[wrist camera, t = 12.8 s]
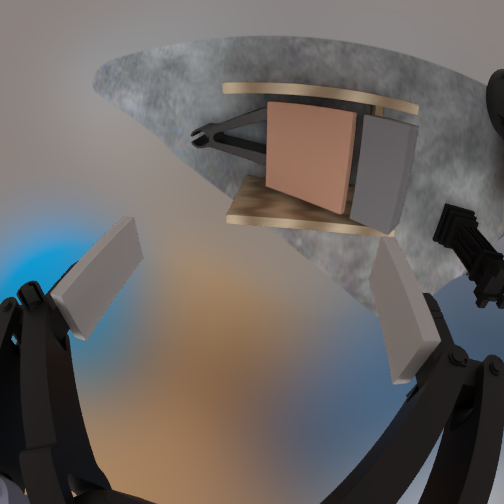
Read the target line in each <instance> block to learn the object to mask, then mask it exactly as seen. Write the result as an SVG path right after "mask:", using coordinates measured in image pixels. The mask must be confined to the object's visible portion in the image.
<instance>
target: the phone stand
mask: <svg viewBox="0 0 504 504" xmlns="http://www.w3.org/2000/svg"><path fill="white" fill-rule="evenodd" d="M263 120H267V106H266V107H263V108H260V109H258V110H255V111H252V112H249V113H246V114H243V115H241V116H238V117H235V118H233V119H230V120H228V121H225V122H222V123H218V124H214V123H210V124H207V125H205V126H203V127H200V128H198V129H196V130H194V131H193V132H192V134H191V136H194V135H196V134H198V133H200V132H202V131H204V132H207V134H209V135H208V137H209V138H210V139H209V138H207V137H206V136H205V135H202V136H201V137H199V138H197V139H195V140H194V141H192V142H191V143H192V144H193V145H194V146H195V147H197V148H205V147H211V148H215V149H218V150H222V151H225V152H228V153H231V154H234V155H237V156H240V157H242V158H245V159H248V160H251V161H254V162H257V163H259V164H262V165H265V166H266V156H267V145H263V144H260V143H256V142H252V141H248V140H244V139H240V138H235V137H231V136H227V135H225V134H224V133H223V131H225V130H228V129H232V128H236V127H239V126H243V125H247V124H251V123H255V122H259V121H263Z"/></svg>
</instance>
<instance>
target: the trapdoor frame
mask: <svg viewBox="0 0 504 504" xmlns="http://www.w3.org/2000/svg"><path fill="white" fill-rule="evenodd" d="M227 93H268V94H290V95H304V96H315V97H324V98H332V99H340V100H347V101H353V102H359V103H365V104H371V105H372V114H371V115H376V116H381V117H382V113H383V107H385V108H390V109H395V110H399V111H403V112H407V113H411V114H415V115H418V108H419V105H416V104H413V103H409V102H405V101H401V100H397V99H393V98H389V97H384V96H380V95H375V94H370V93H364V92H359V91H353V90H346V89H339V88H332V87H324V86H314V85H303V84H289V83H261V82H242V83H223V94H227ZM354 191H355V185H348V192H347V198H346V204H345V210H344V213H342V214H337V213H335V212H333V211H330V210H328V209H325V208H323V207H320V206H318V205H315V204H312V203H310V202H307V201H305V200H302V199H299V198H297V197H294V196H291V195H289V194H286V193H283V192H281V191H278V190H275V189H272V188H270V187H267V186H266V177H257V176H246V178H245V179H244V181H243V183H242V185H241V187H240V189H239V191H238V193H237V195H236V197H235V199H234V201H233V202H232V205H231V207H230V208H229V210H228V212H227V214H226V220H227V223H228V224H242V225H256V226H269V227H282V228H294V229H305V230H317V231H327V232H338V233H348V234H358V235H368V236H377V237H382V236H387V237H393V236H394V232H395V229H394V230H393V231H392V232H391V233H390V234H389V235H386V234H384V233H382V232H379V231H377V230H375V229H373V228H370V227H368V226H366V225H363V224H361V223H359V222H356V221H354V220H352V219H350V214H351V209H352V203H353V197H354Z"/></svg>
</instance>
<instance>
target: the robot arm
mask: <svg viewBox="0 0 504 504" xmlns="http://www.w3.org/2000/svg"><path fill="white" fill-rule="evenodd" d="M487 107H488V112H489V116H490V119H491V121H492V124H493V126H494V128H495V129H496V131H497V132H498V134H499V135H500V136H501V137H502V138H503V139H504V69H500V70H497V71H496V72H494V74H492V76H491V77H490V80H489V82H488V86H487ZM142 259H143V254H142V250H141V246H140V242H139V238H138V233H137V229H136V225H135V220H134V217H122V218H121V219H120V220H119V221H118V222H117V223H116V224H115V225H114V226H113V227H112V228H111V229H110V230H109V231H108V232H107V233H106V234H105V235H104V236H103V237H102V238H101V239H100V240H99V241H98V242H97V243H96V244H95V245H94V246H93V247H92V248H91V249H90V250H89V251H88V252H87V253H86V254H85V255H84V256H83V257H82V258H81V259H80V260H79V261H77V262H76V263H74V264H73V265H71V267H70V268H69V269H68V270H67V271H66V273H64V274H63V275H62V276H61V279H59V280H58V281H57V282H56V283H55V284H54V286H53V287H52V288H51V289H50V290H49V291H48V293H47V294H46V295H44V293H43V291H42V289H41V287H40V285H39V283H38V282H37V281H30V282H27V283H25V284H24V285H23V286H21V288H20V289H19V290H18V292H17V296H18V298H19V300H20V302H21V303H22V305H19V304H18V302H17V300H16V298H14V297H9V298H7V299H5V300H4V301H3V302H2V303H1V304H0V504H156V503H153V502H150V501H147V500H144V499H142V498H139V497H135V496H132V495H128V494H125V493H121V492H118V491H115V490H112V488H111V486H110V483H109V482H108V479H107V478H106V476H105V474H104V473H103V472H102V471H101V470H100V468H99V467H98V465H97V463H96V461H95V458H94V455H93V452H92V449H91V446H90V442H89V439H88V435H87V432H86V429H85V425H84V421H83V417H82V413H81V408H80V404H79V399H78V394H77V389H76V383H75V377H74V371H73V365H72V357H71V349H70V340H69V336H68V335H67V332H68V330H69V329H70V330H71V331H72V333H73V335H74V336H75V337H76V338H79V339H82V340H85V341H87V339H88V338H89V336H90V335H91V333H92V332H93V330H94V328H95V327H96V325H97V324H98V322H99V321H100V319H101V317H102V316H103V315H104V313H105V311H106V310H107V309H108V307H109V306H110V304H111V303H112V301H113V300H114V298H115V297H116V295H117V294H118V292H119V291H120V290H121V288H122V287H123V285H124V284H125V282H126V281H127V280H128V278H129V277H130V276H131V274H132V273H133V271H134V270H135V269H136V267H137V266H138V265H139V263H140V262H141V260H142ZM369 281H370V284H371V288H372V291H373V295H374V299H375V303H376V306H377V310H378V314H379V319H380V323H381V327H382V331H383V335H384V340H385V345H386V349H387V354H388V360H389V365H390V371H391V377H392V382H393V384H404V383H409V382H410V381H411V380H412V379H413V377H414V376H415V375H416V380H417V384H416V385H415V386H414V388H413V389H412V390H411V391H410V392H409V393H408V394H407V395H406V396H407V399H406V401H405V402H404V404H403V405H402V407H401V408H400V410H399V411H398V413H397V414H396V416H395V418H394V419H393V420H392V422H391V423H390V425H389V426H388V427H387V429H386V430H385V431H384V433H383V434H382V436H381V437H380V438H379V439H378V441H377V442H376V443H375V445H374V446H373V447H372V448H371V450H370V451H369V452H368V453H367V455H366V456H365V457H364V458H363V459H362V460H361V462H360V463H359V464H358V465H357V466H356V467H355V469H354V470H353V471H352V472H351V473H350V474H349V475H348V476H347V477H346V479H344V480H343V482H342V483H341V484H340V485H339V486H338V487H337V488H336V489H335V490H334V491H333V492H332V493H331V494H330V495H329V496H328V497H326V498H325V499H324V500H323V501H322V502H321V503H320V504H396V503H397V502H398V500H399V499H400V498H401V496H402V495H403V494H404V492H405V491H406V490H407V488H408V487H409V485H410V484H411V483H412V481H413V480H414V478H415V477H416V475H417V474H418V472H419V471H420V469H421V467H422V466H423V464H424V463H425V461H426V459H427V458H428V456H429V454H430V453H431V450H432V449H433V447H434V445H435V444H436V442H437V440H438V438H439V436H440V434H441V432H442V430H443V428H444V431H443V435H442V439H441V443H440V446H439V449H438V452H437V456H436V459H435V462H434V465H433V468H432V471H431V473H430V476H429V479H428V481H427V484H426V486H425V489H424V491H423V494H422V496H421V498H420V500H419V503H418V504H487V503H488V500H489V496H490V493H491V490H492V486H493V482H494V479H495V475H496V470H497V466H498V461H499V456H500V450H501V444H502V437H503V430H504V363H503V361H502V360H501V359H500V358H499V357H497V356H496V355H489V356H487V357H486V358H485V360H484V361H483V362H480V361H476V360H472V359H469V357H468V354H467V353H466V351H465V350H464V349H463V348H461V347H460V346H457V345H455V344H454V342H453V339H452V337H451V334H450V331H449V329H448V326H447V324H446V322H445V320H444V317H443V314H442V312H440V311H441V310H440V308H439V306H438V303H437V301H436V300H435V299H434V298H433V297H432V296H431V294H430V293H422V292H421V289H420V287H419V285H418V283H417V280H416V278H415V276H414V274H413V272H412V270H411V268H410V266H409V264H408V262H407V260H406V258H405V256H404V254H403V252H402V250H401V248H400V246H399V244H398V242H397V240H396V238H395V237H387V236H382V237H381V240H380V244H379V248H378V251H377V255H376V258H375V261H374V265H373V268H372V271H371V274H370V277H369ZM12 335H13V336H14V337H15V339H16V340H17V343H16V345H15V344H14V343H13V341H12V340H11V338H12ZM444 426H445V427H444ZM25 488H26V492H27V495H28V496H27V495H25V494H24V493H25ZM71 491H73V492H74V493H76V495H77V496H76V497H73V495H72V492H71Z"/></svg>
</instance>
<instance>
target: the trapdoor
mask: <svg viewBox="0 0 504 504" xmlns="http://www.w3.org/2000/svg"><path fill="white" fill-rule="evenodd" d="M356 117H357V113H356V112H351V111H346V110H340V109H334V108H327V107H320V106H313V105H305V104H296V103H286V102H274V101H268V106H267V156H266V186H267V187H270V188H272V189H275V190H278V191H281V192H283V193H286V194H289V195H291V196H294V197H297V198H299V199H302V200H305V201H307V202H310V203H312V204H315V205H318V206H320V207H323V208H325V209H328V210H330V211H333V212H335V213H337V214H342V213H344V210H345V204H346V198H347V192H348V185H349V178H350V171H351V164H352V156H353V147H354V138H355V128H356ZM417 133H418V126H416V125H412V124H409V123H405V122H401V121H398V120H394V119H390V118H386V117H381V116H376V115H364V121H363V131H362V141H361V149H360V157H359V164H358V171H357V178H356V185H355V191H354V197H353V203H352V209H351V214H350V219H352V220H354V221H356V222H359V223H361V224H363V225H366V226H368V227H370V228H373V229H375V230H377V231H379V232H382V233H384V234H386V235H389V234H390V233H391V232H392V231H393V230H394V228H395V227H396V226H397V225H398V224H399V221H400V217H401V214H402V210H403V206H404V201H405V197H406V193H407V188H408V184H409V179H410V174H411V169H412V164H413V158H414V153H415V147H416V140H417Z"/></svg>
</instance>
